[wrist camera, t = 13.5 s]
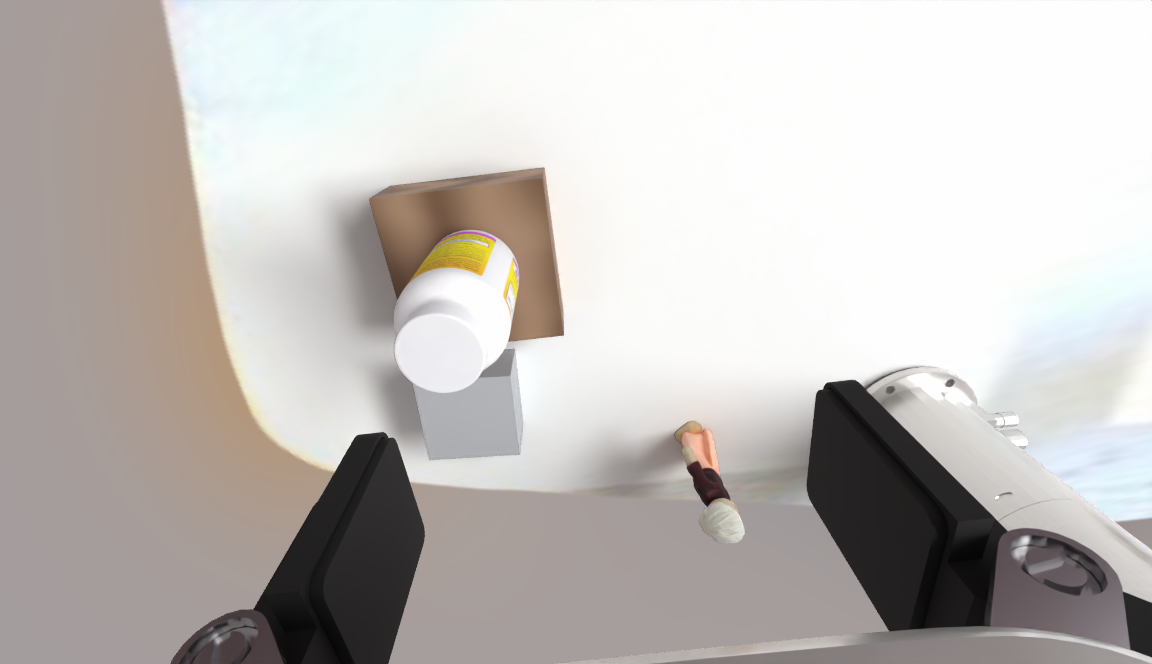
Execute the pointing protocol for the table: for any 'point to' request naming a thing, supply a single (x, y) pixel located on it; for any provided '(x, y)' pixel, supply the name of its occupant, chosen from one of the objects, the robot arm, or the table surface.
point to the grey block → (475, 415)
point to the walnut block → (484, 204)
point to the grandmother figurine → (710, 484)
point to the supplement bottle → (456, 311)
